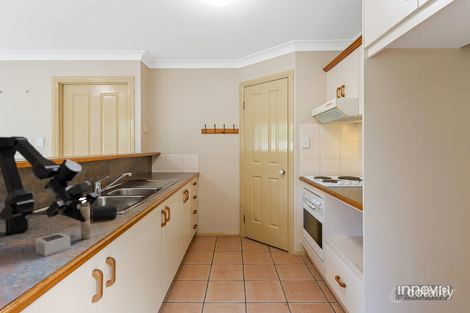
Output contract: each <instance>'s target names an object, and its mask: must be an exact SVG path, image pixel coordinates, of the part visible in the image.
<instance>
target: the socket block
mask: <svg viewBox="0 0 470 313" xmlns="http://www.w3.org/2000/svg"><path fill="white" fill-rule="evenodd" d="M34 241H35V252H36V253H38V254H40V255H42V256H44V257H48V256H49V255H53V254H57V253H59V252H60V253H61V252H63V251H66V250H69V249H71V248H72V246H71V236H70V235H68V234H66V233H63V232H57V233H52V234H50V235H46V236H42V237H38V238H35V240H34Z"/></svg>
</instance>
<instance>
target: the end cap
mask: <svg viewBox="0 0 470 313" xmlns="http://www.w3.org/2000/svg"><path fill="white" fill-rule="evenodd" d="M117 210H118V208H117V204H116V203H110V204H105V205H94V206H92V208H91V212H92V216H93V219H92V221H94V222H95V221H102V220H103V221H105V220H111V219H116V218H117V217H118V211H117Z"/></svg>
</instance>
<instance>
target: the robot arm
mask: <svg viewBox="0 0 470 313" xmlns="http://www.w3.org/2000/svg"><path fill="white" fill-rule="evenodd" d="M17 152H18V153H19V154H20V155H21V156H22V157H23V159H24V160H25V161H27V162H28V163H29V164H30V166H31V172H32V173H33V174H34V176H35V178H37V179H38V180H40V181H41V180H48V181H46V182H45V185H44V188H43V189H44V190H50V189H51V191H52V192H53V193H54V195H56V196H55V197H54V198H55V200H54V201H52V202H51V203H50V205H49V206H48V207H47V208H46V211H45V214H46V216H47V217H48V218H49V219H50V218H53V217H57V216H58V215H59V211H61V212H62V213H60V216H62V217H63V216H64V217H68V218H71V219H73V220H76V221H79V222H80V223H81V222H85V221H86V220H85V218H84V217H83V215H82V214H81V213H80V203H83V202H90V207H91V206H92V205H93V204H94V203H95V202H96V201H97V199H99V197H100V195H99V194H98V192H89V191H91V189H92V188H93V186H92V184H91V182H89V180H85V181H83V182H81V183H77V184H75V185H71V184H70V182H72V181H74V179H75V178H76V177H77V176H78V174H79V173H81V171H82V170H83V169H82V166H81V164H80V163H77V162H76V161H74V160H73V161H72V160H71V159H70V158H65V159H64V160H63V161H62V163H61V164H60V165H59V164H58V163H57V162H55V161H53V160H51V159H48V158H46V157H44V155H43V154H42V153H40V152H39V150H38V149H36V148H35V147H34V145H32V144H31V143H30V142H29V140H28V138H27V137H24V136H17V135H16V136H0V172H1V174H2V179H3V181H4V182H3V183H4V185H5V189H6V193H7V195H6V196H5V199H4V207H3V209H1V211H0V220H5V223H4V224H5V233H3V235H4V236H8V235H17V234H24V233H26V232H27V231H28V230H30V229H31V219H30V217H29V215H33V212H34V208H35V199H34V197H33V193H32V192H31V191H30V192H27V191H26V190H25V188H24V185H23V182H22V178H21V175H20V172H19V169H18V164H17V161H16V158H15V156H16V153H17ZM86 192H89V193H87V194H86V195H85V194H84V193H86ZM91 220H92V221H93V216H92V208H90V221H91Z"/></svg>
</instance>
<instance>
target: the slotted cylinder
mask: <svg viewBox="0 0 470 313" xmlns="http://www.w3.org/2000/svg"><path fill="white" fill-rule="evenodd" d="M90 209H91V206H90V202H83V203H80V213H81V214H82V215H83V217H84V218H85V220H86V221H85V222H81V221H80V239H82V240H85V239H89V238H91V220H90Z"/></svg>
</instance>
